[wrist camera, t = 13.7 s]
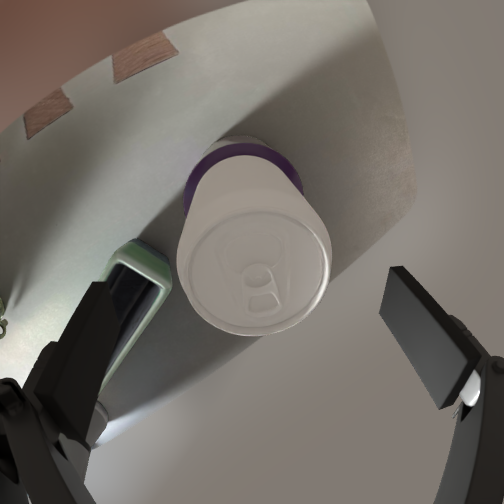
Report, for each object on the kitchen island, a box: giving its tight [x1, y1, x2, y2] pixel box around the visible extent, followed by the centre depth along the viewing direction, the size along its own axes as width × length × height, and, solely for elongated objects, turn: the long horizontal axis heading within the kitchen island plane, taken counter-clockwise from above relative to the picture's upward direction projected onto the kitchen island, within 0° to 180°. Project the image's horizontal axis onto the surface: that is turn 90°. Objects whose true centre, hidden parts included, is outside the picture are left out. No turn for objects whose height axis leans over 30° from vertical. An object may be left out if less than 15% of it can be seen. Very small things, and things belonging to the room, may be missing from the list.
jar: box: [183, 135, 304, 218], centre depth 30 cm, size 10×10×9 cm
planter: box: [98, 239, 173, 396], centre depth 37 cm, size 28×7×7 cm, turn 142°
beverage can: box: [176, 155, 332, 336], centre depth 20 cm, size 8×8×12 cm
